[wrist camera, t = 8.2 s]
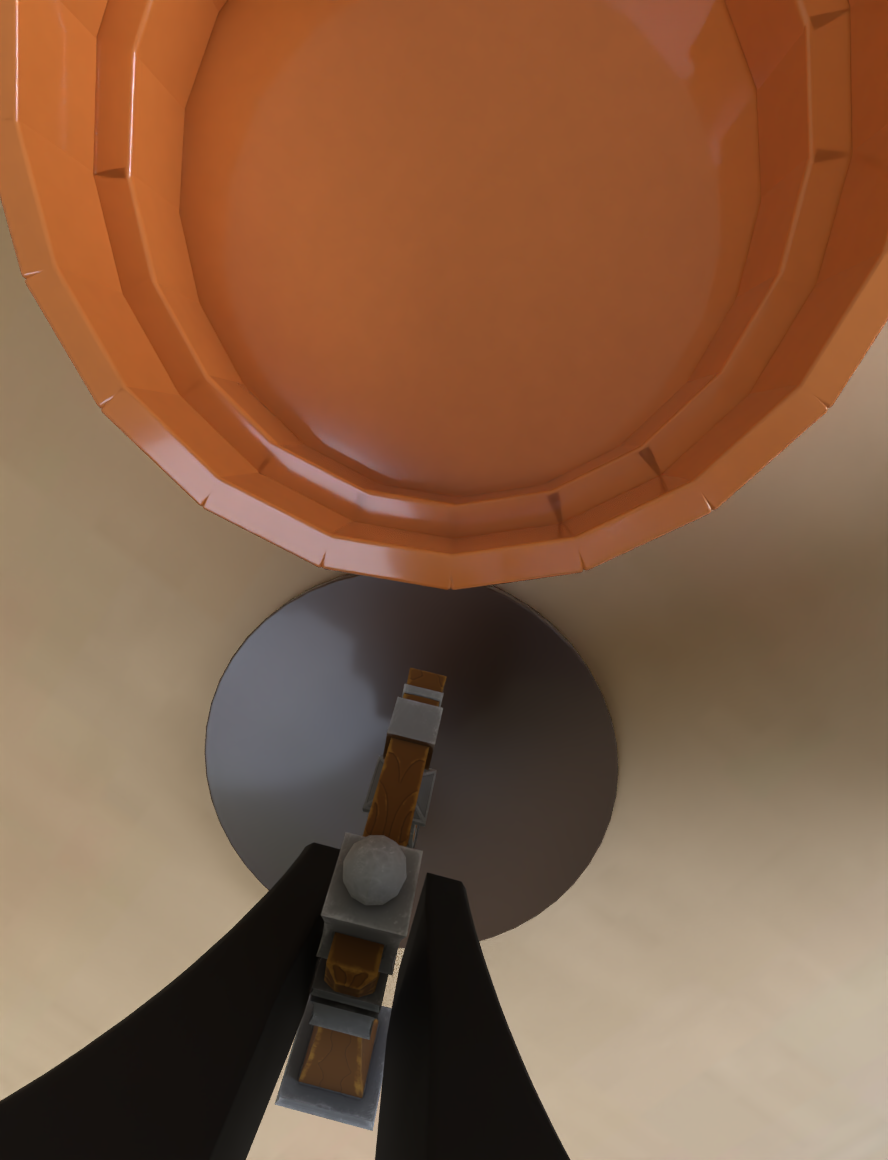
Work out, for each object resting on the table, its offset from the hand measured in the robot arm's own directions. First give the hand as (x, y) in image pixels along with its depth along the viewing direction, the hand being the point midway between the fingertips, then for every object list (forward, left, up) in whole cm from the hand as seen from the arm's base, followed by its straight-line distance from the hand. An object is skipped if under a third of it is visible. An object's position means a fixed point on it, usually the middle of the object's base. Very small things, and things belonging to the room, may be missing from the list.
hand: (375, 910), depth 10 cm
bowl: (+4, -12, -5) cm, 13 cm away
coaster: (0, 0, -5) cm, 5 cm away
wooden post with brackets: (0, 0, -1) cm, 1 cm away
